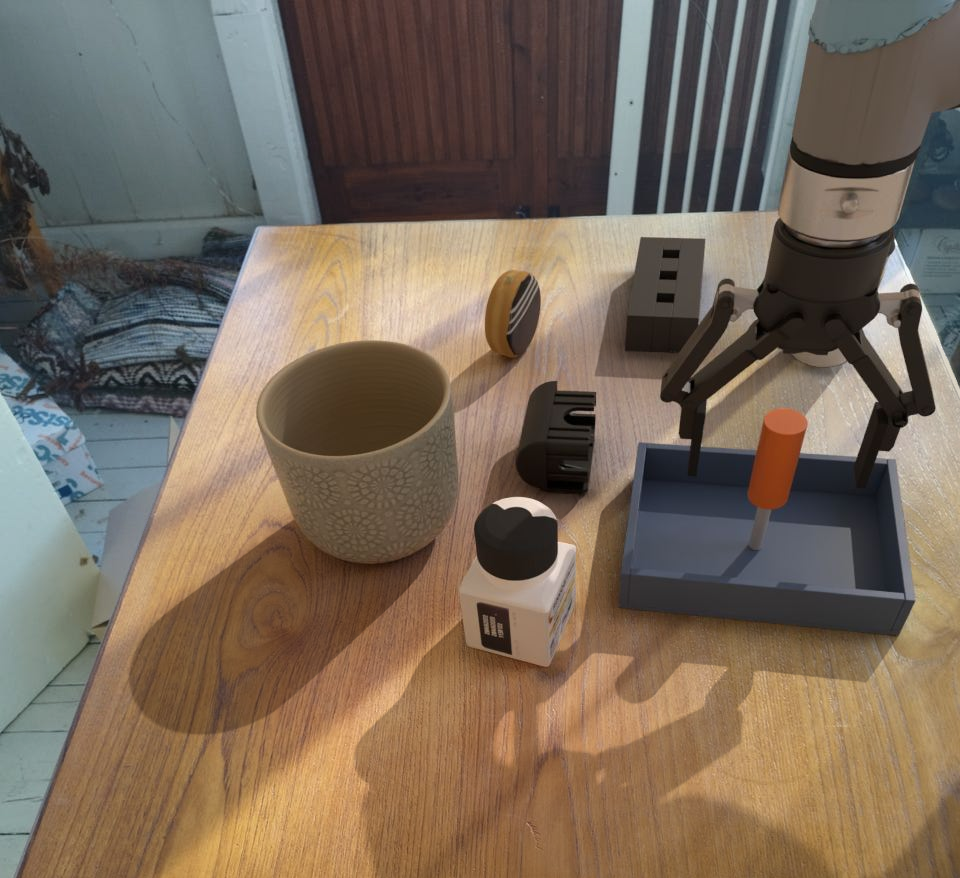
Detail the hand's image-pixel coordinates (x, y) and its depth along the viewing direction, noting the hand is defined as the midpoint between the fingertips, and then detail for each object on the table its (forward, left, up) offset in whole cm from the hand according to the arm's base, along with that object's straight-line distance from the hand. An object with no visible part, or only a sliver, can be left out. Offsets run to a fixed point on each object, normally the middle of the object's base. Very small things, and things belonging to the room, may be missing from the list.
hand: (774, 471), depth 74 cm
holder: (+11, -40, -9) cm, 43 cm away
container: (+20, +12, -10) cm, 25 cm away
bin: (0, 0, -9) cm, 9 cm away
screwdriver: (0, 0, -9) cm, 9 cm away
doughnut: (+28, -30, -10) cm, 42 cm away
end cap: (+20, -10, -10) cm, 24 cm away
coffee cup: (-7, -33, -10) cm, 35 cm away
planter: (+36, +1, -10) cm, 37 cm away
